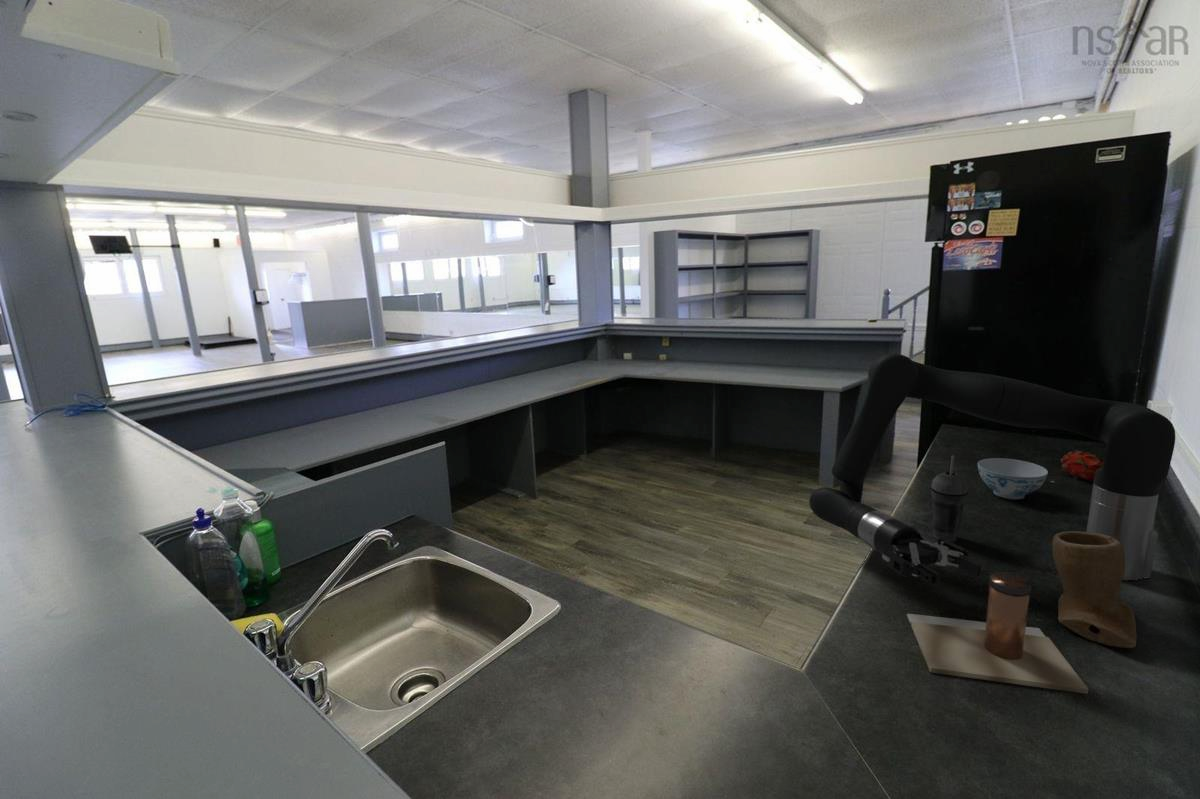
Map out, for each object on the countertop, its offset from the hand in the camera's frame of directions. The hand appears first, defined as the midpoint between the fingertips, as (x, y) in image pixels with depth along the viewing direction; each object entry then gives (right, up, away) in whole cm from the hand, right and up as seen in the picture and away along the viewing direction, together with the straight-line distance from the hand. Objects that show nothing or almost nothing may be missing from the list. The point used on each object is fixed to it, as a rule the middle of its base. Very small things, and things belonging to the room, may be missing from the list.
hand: (959, 576), depth 95 cm
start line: (+3, -9, 0) cm, 9 cm away
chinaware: (+48, +5, +53) cm, 72 cm away
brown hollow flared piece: (+22, -8, +1) cm, 24 cm away
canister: (+3, -10, -7) cm, 12 cm away
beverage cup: (+17, -2, +32) cm, 36 cm away
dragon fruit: (+75, +8, +62) cm, 98 cm away
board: (+1, -11, -7) cm, 13 cm away
